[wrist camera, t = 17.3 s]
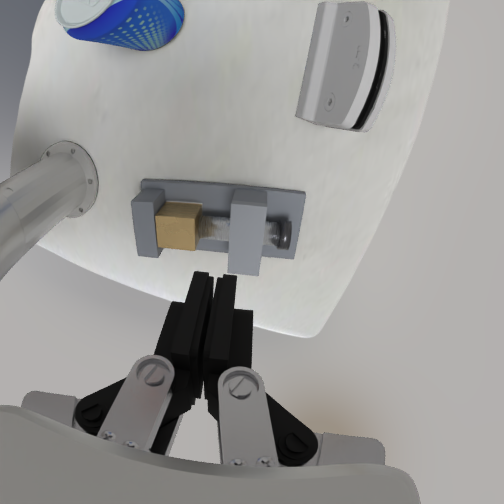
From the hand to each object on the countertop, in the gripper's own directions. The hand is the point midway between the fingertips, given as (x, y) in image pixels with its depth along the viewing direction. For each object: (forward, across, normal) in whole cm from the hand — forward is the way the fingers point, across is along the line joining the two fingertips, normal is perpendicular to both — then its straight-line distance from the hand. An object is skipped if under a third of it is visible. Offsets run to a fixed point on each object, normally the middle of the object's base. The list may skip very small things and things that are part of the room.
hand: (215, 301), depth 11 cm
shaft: (+25, -1, +9) cm, 27 cm away
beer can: (+27, +13, -18) cm, 35 cm away
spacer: (+26, +7, +9) cm, 28 cm away
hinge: (+27, -10, -13) cm, 31 cm away
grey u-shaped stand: (+26, +3, +9) cm, 28 cm away
